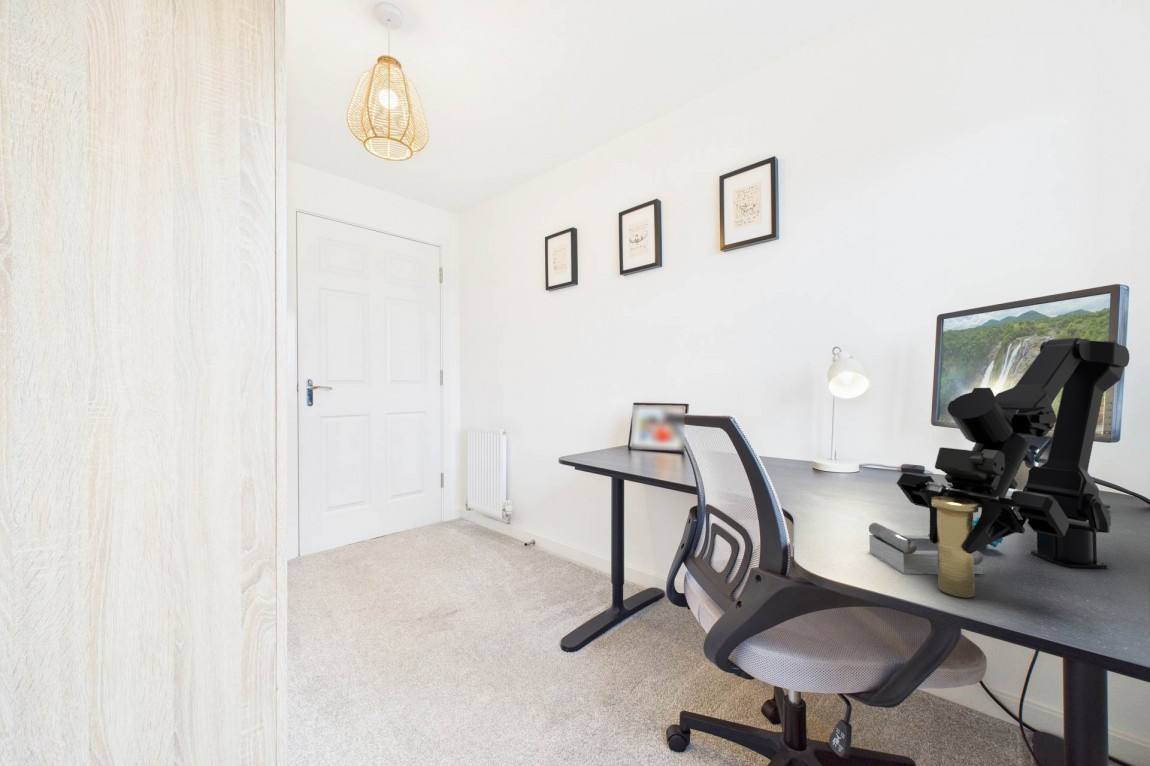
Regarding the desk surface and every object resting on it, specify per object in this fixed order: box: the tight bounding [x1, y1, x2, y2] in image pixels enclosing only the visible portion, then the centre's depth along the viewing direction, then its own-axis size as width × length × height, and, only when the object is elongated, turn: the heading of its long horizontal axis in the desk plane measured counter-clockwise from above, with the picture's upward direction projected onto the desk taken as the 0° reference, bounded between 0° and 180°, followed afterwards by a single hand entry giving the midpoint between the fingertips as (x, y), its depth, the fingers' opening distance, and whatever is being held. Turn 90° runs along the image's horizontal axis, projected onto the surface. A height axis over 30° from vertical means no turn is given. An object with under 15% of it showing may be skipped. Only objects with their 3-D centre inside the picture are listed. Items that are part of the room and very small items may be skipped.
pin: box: [931, 496, 980, 598], centre depth 64 cm, size 5×5×13 cm
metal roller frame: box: [868, 522, 984, 575], centre depth 75 cm, size 12×9×5 cm
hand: (949, 546), depth 64 cm, fingers closed on pin, 4 cm apart
